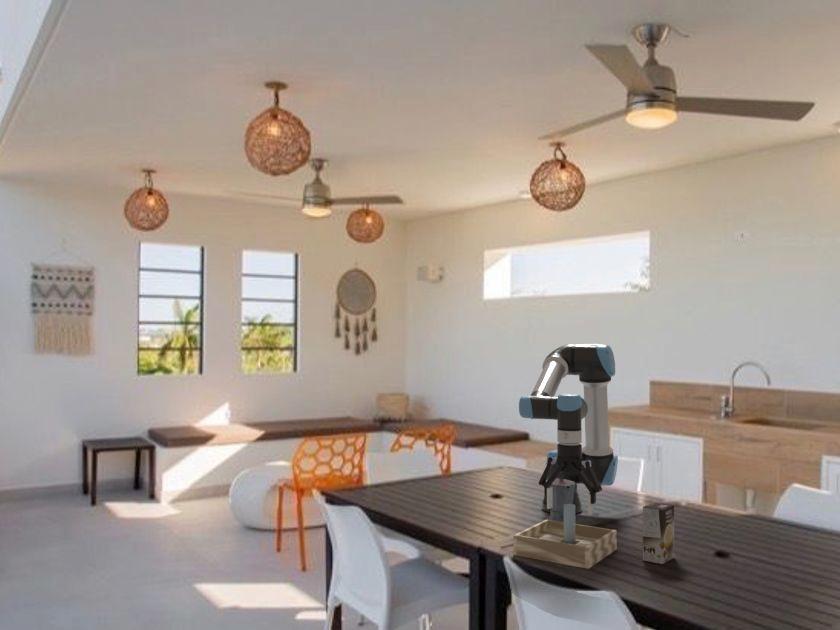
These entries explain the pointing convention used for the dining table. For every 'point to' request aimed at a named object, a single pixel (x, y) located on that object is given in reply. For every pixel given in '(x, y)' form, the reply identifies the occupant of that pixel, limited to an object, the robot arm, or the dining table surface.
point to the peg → (569, 523)
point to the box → (565, 544)
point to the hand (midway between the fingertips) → (569, 511)
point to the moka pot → (561, 497)
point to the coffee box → (658, 532)
